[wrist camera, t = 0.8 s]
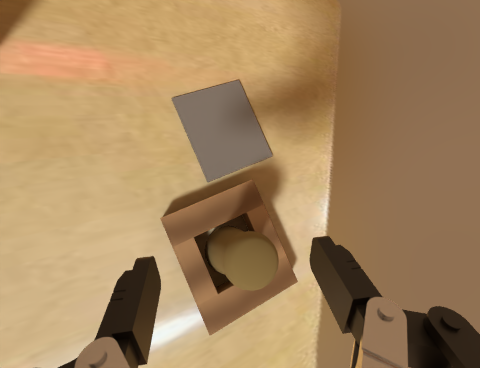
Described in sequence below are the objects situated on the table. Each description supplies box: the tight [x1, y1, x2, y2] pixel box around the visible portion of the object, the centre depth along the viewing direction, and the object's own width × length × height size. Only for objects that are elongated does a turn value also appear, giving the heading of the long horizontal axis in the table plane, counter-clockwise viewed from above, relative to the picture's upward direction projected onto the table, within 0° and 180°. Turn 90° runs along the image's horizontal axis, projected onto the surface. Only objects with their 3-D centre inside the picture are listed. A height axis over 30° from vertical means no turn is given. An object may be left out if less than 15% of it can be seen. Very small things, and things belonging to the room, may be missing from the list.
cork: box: [205, 226, 279, 291], centre depth 26 cm, size 6×6×11 cm
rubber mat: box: [172, 80, 273, 182], centre depth 33 cm, size 12×10×1 cm
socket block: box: [160, 179, 298, 335], centre depth 30 cm, size 14×12×2 cm
